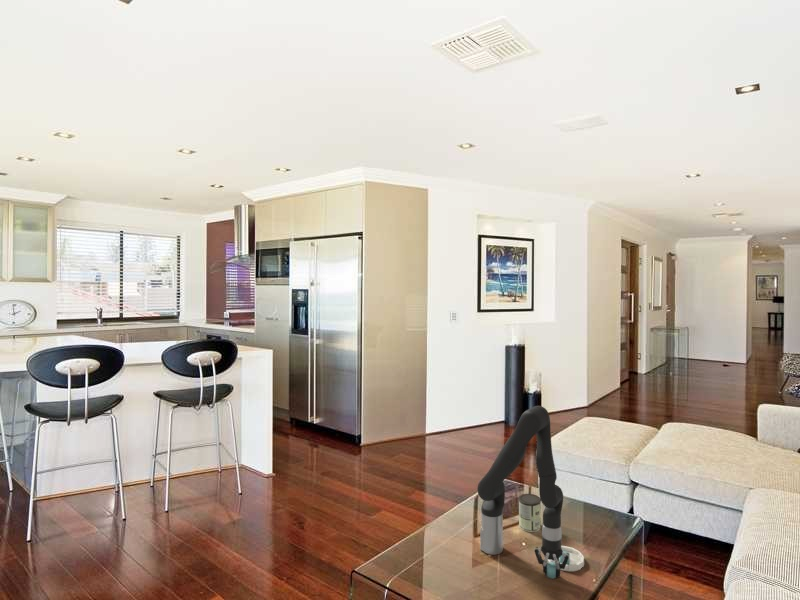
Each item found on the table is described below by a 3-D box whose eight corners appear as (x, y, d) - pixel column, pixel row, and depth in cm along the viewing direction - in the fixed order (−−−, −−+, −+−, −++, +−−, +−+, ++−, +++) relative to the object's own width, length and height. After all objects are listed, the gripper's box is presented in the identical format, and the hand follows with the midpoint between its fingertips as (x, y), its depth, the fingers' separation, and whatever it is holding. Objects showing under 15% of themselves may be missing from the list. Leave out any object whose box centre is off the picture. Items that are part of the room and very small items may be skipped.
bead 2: (559, 565, 217) (559, 555, 217) (560, 560, 221) (560, 550, 221) (569, 567, 216) (569, 557, 215) (570, 562, 219) (570, 552, 219)
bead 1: (545, 577, 211) (545, 566, 211) (547, 571, 215) (547, 561, 214) (556, 579, 210) (556, 569, 209) (557, 573, 213) (557, 563, 213)
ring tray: (544, 566, 218) (544, 561, 218) (550, 547, 232) (550, 542, 232) (582, 574, 212) (582, 569, 212) (585, 554, 226) (585, 549, 225)
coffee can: (522, 519, 257) (522, 491, 255) (543, 524, 251) (543, 496, 250) (515, 528, 248) (515, 500, 247) (536, 534, 242) (536, 505, 241)
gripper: (532, 536, 210) (532, 576, 212) (569, 543, 204) (568, 584, 206) (535, 527, 217) (535, 566, 218) (571, 533, 211) (570, 573, 213)
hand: (551, 574), depth 212 cm, fingers closed on bead 1, 4 cm apart
